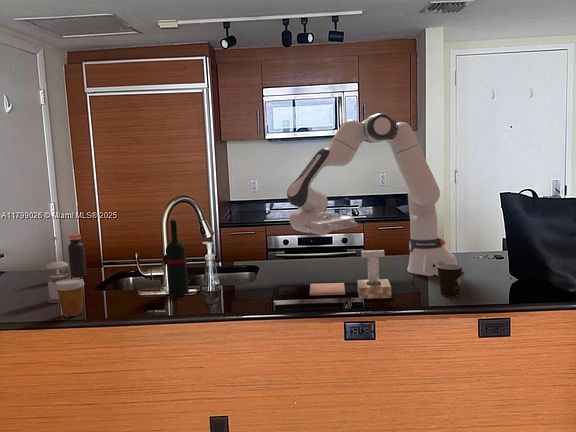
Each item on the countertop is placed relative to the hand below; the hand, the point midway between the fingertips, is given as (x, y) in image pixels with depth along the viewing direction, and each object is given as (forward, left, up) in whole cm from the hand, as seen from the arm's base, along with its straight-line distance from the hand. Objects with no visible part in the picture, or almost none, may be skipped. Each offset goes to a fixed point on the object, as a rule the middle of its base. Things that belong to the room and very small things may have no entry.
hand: (347, 226), depth 203 cm
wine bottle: (+67, +1, -24) cm, 72 cm away
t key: (-9, +9, -24) cm, 27 cm away
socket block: (-9, +9, -24) cm, 27 cm away
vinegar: (+121, -31, -24) cm, 128 cm away
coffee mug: (-37, +11, -24) cm, 45 cm away
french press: (+111, +5, -24) cm, 114 cm away
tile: (+8, +2, -24) cm, 26 cm away
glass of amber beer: (+97, +25, -24) cm, 103 cm away
